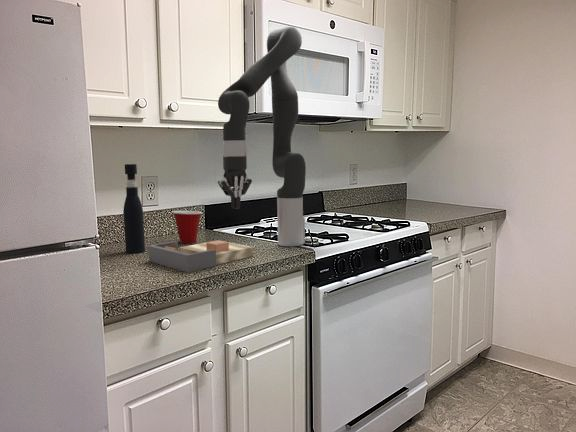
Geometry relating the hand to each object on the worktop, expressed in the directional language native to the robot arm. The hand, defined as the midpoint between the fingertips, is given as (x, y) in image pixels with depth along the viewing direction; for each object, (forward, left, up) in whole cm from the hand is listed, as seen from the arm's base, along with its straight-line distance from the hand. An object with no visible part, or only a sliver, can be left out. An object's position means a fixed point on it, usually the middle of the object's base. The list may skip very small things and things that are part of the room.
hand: (235, 208), depth 159 cm
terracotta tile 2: (+8, 0, -13) cm, 15 cm away
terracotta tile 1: (+19, -7, -12) cm, 23 cm away
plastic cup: (-3, -31, -16) cm, 35 cm away
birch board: (+5, -4, -16) cm, 17 cm away
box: (+19, -4, -16) cm, 25 cm away
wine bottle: (+19, -31, -16) cm, 40 cm away
